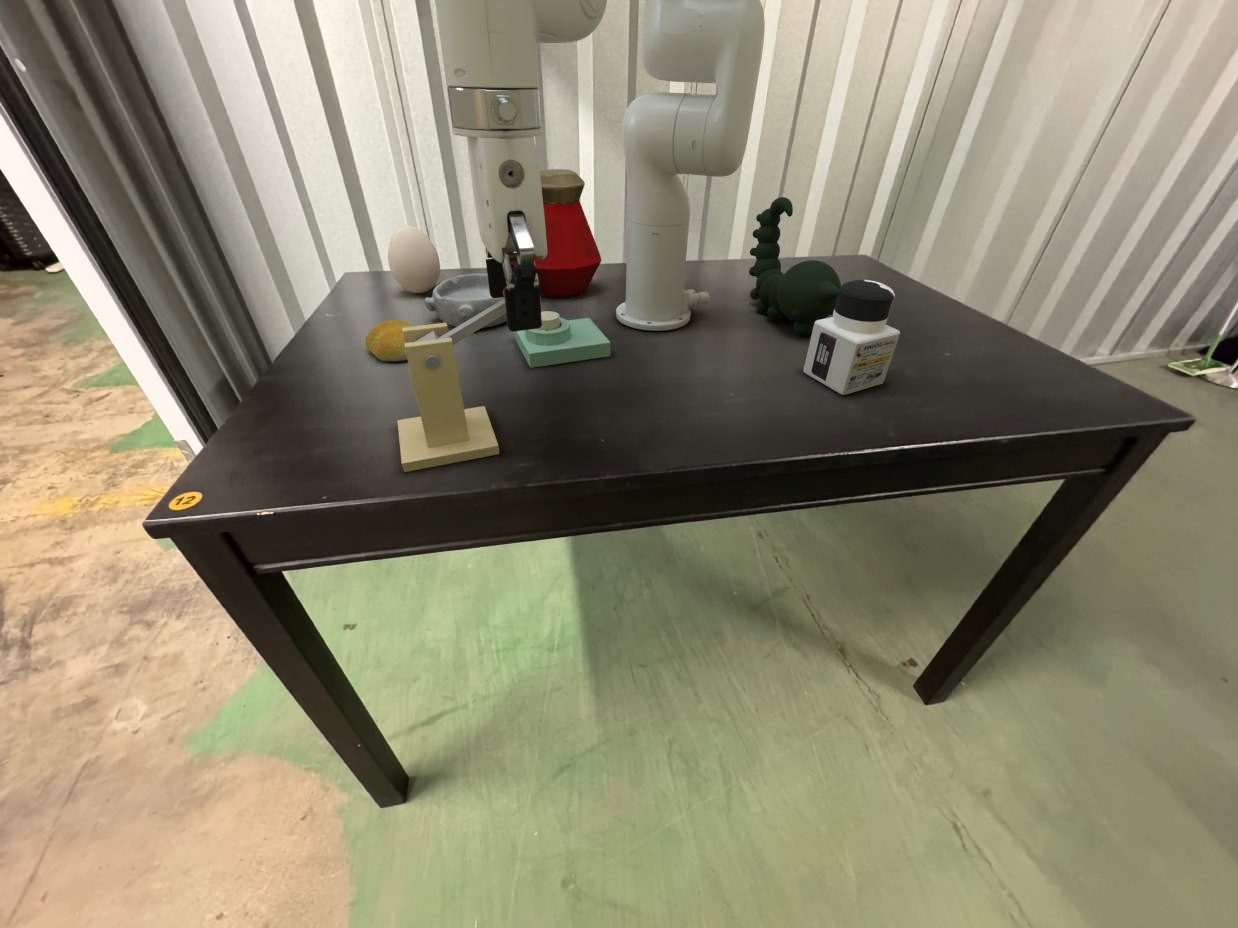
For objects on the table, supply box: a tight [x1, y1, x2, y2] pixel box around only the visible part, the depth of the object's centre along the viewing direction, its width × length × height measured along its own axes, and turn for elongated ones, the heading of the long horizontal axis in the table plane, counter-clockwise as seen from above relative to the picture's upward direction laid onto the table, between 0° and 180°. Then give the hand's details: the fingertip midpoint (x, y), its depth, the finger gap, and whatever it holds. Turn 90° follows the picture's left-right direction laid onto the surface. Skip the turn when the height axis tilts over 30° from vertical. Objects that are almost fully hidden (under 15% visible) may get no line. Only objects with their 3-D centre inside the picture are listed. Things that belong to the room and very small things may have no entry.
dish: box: [424, 273, 507, 329], centre depth 91 cm, size 14×14×5 cm
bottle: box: [534, 168, 602, 299], centre depth 98 cm, size 16×14×20 cm
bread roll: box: [364, 319, 415, 362], centre depth 80 cm, size 8×9×4 cm
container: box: [802, 279, 901, 396], centre depth 72 cm, size 8×8×13 cm
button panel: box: [514, 316, 612, 369], centre depth 82 cm, size 12×10×4 cm
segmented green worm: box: [748, 196, 842, 337], centre depth 88 cm, size 9×19×25 cm
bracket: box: [397, 322, 500, 473], centre depth 58 cm, size 10×9×13 cm
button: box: [539, 310, 560, 330], centre depth 80 cm, size 4×4×2 cm
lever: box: [415, 286, 507, 346], centre depth 56 cm, size 12×5×2 cm, turn 111°
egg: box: [387, 225, 441, 294], centre depth 98 cm, size 9×9×12 cm
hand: (514, 311), depth 56 cm, fingers open, 9 cm apart
